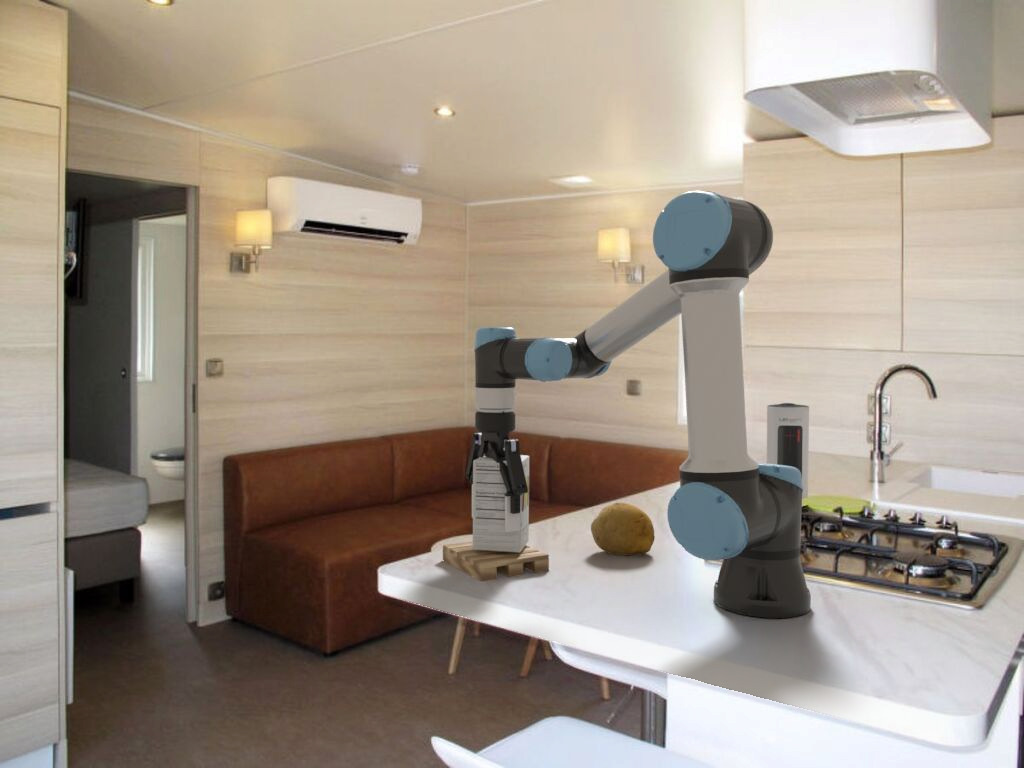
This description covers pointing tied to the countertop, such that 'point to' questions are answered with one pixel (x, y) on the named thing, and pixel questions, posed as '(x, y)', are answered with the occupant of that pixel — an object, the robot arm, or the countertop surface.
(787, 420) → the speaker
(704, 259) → the robot arm
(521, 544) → the supplement box
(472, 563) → the wooden pallet
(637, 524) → the potato
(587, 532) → the countertop surface
